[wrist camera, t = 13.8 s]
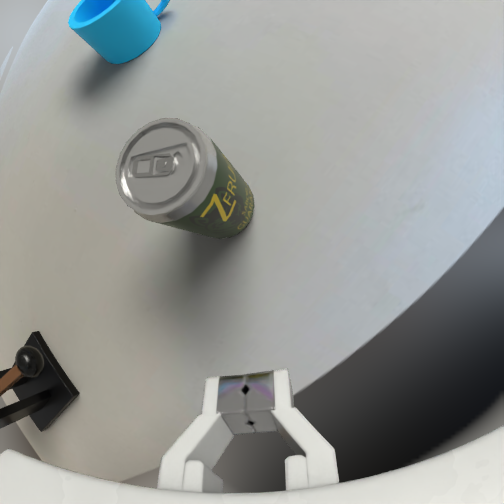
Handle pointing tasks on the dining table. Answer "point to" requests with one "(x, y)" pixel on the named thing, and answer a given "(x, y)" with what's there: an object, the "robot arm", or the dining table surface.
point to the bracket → (40, 391)
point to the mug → (117, 27)
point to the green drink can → (183, 180)
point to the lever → (23, 367)
